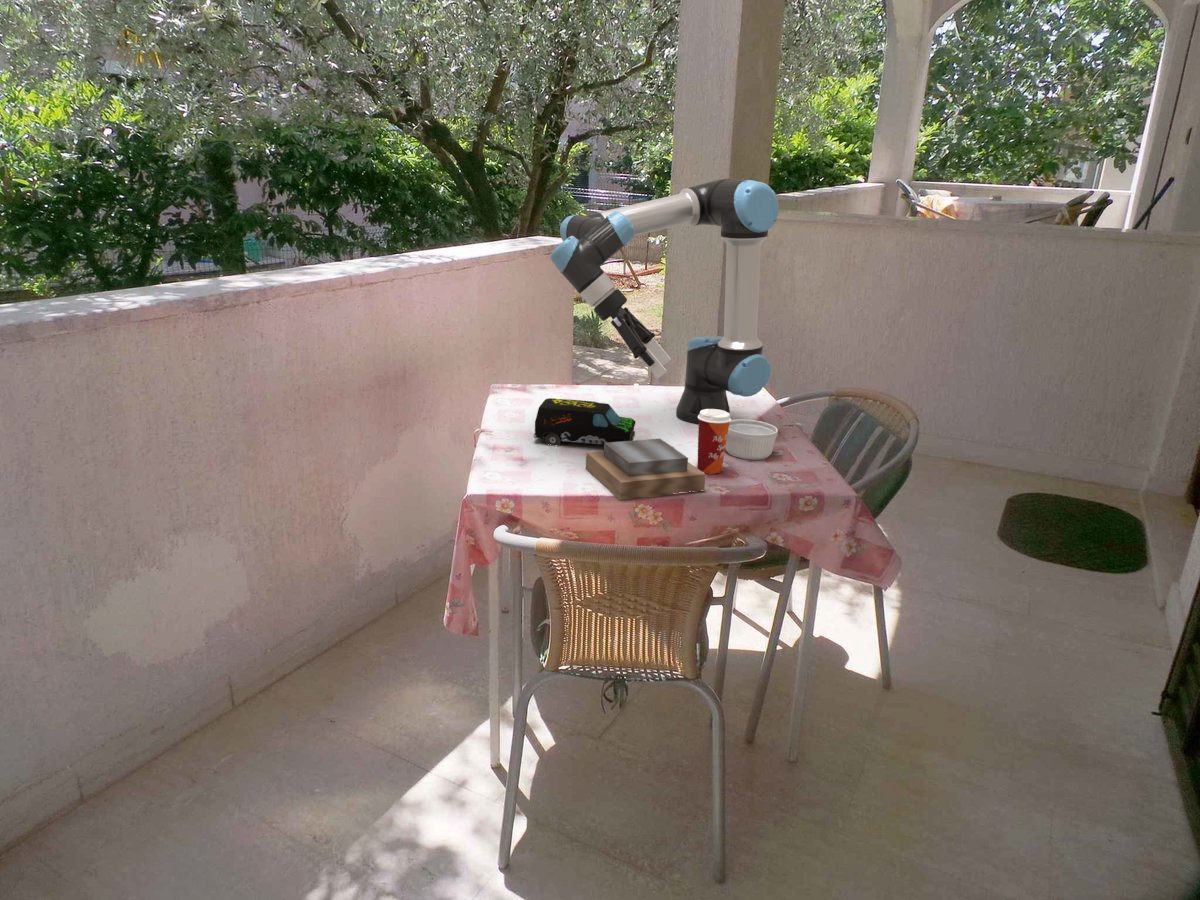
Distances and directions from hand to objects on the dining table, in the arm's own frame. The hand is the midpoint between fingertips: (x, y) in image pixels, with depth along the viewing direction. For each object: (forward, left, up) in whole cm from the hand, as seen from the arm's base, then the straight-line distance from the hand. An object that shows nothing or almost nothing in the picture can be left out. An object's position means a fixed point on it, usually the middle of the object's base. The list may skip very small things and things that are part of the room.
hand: (664, 368), depth 196 cm
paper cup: (-9, +9, -23) cm, 26 cm away
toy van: (+12, -18, -23) cm, 31 cm away
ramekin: (-25, 0, -23) cm, 34 cm away
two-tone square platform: (+9, +11, -23) cm, 27 cm away
